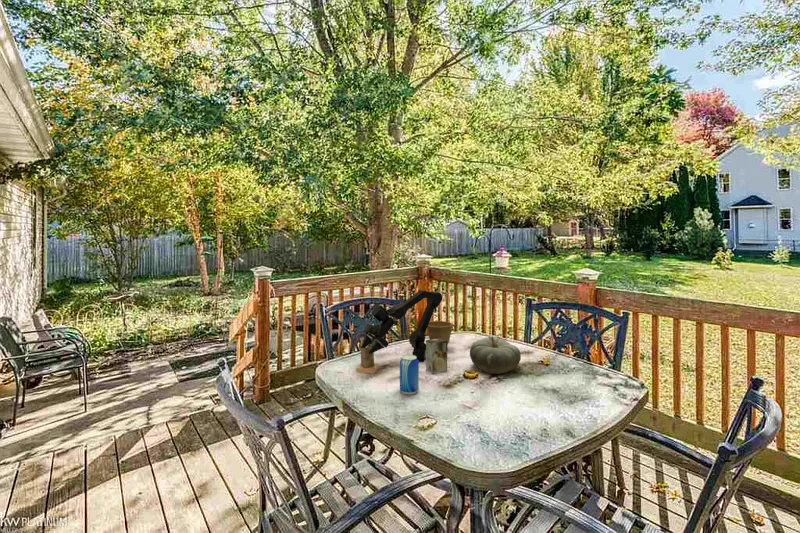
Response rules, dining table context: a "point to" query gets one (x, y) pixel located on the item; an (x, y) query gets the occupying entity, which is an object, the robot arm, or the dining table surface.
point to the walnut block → (367, 358)
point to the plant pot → (439, 330)
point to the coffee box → (436, 355)
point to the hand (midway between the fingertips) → (365, 351)
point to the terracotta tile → (367, 369)
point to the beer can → (409, 374)
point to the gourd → (495, 355)
